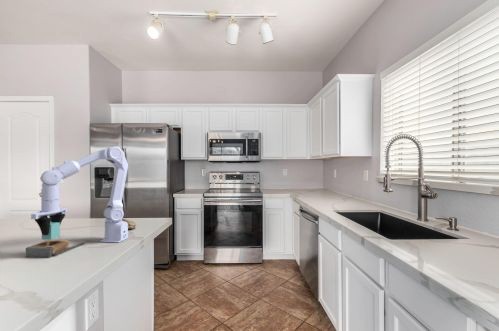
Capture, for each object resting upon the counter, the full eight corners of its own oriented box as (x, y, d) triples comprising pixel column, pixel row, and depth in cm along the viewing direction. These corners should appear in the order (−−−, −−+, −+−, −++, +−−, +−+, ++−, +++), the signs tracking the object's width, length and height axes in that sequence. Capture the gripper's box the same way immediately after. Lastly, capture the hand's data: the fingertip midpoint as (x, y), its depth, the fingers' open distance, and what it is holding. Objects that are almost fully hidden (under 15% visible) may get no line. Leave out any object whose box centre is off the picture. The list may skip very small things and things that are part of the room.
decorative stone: (132, 216, 147) (140, 223, 136) (132, 223, 148) (140, 231, 137) (115, 218, 141) (122, 226, 130) (114, 225, 141) (121, 234, 130)
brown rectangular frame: (68, 249, 103) (68, 240, 103) (52, 255, 95) (52, 246, 95) (48, 248, 104) (48, 240, 104) (30, 255, 96) (30, 246, 96)
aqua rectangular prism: (59, 236, 101) (59, 222, 101) (51, 239, 97) (51, 224, 97) (50, 236, 102) (50, 222, 102) (41, 239, 98) (41, 224, 98)
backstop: (84, 244, 110) (84, 236, 110) (52, 257, 93) (52, 248, 93) (59, 243, 111) (59, 235, 111) (23, 256, 94) (23, 247, 94)
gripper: (56, 197, 107) (56, 228, 107) (23, 202, 93) (23, 238, 92) (71, 197, 106) (71, 228, 106) (41, 202, 92) (40, 238, 92)
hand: (50, 233), depth 99 cm, fingers closed on aqua rectangular prism, 4 cm apart
